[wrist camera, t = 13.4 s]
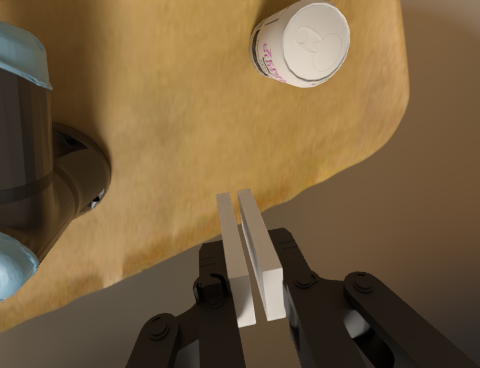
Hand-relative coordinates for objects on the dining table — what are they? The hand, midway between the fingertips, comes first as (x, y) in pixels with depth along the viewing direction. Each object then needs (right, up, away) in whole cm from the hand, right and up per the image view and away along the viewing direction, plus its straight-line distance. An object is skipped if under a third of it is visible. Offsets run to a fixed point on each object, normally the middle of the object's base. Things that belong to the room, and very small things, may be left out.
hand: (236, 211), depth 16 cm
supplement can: (+5, +22, +24) cm, 33 cm away
